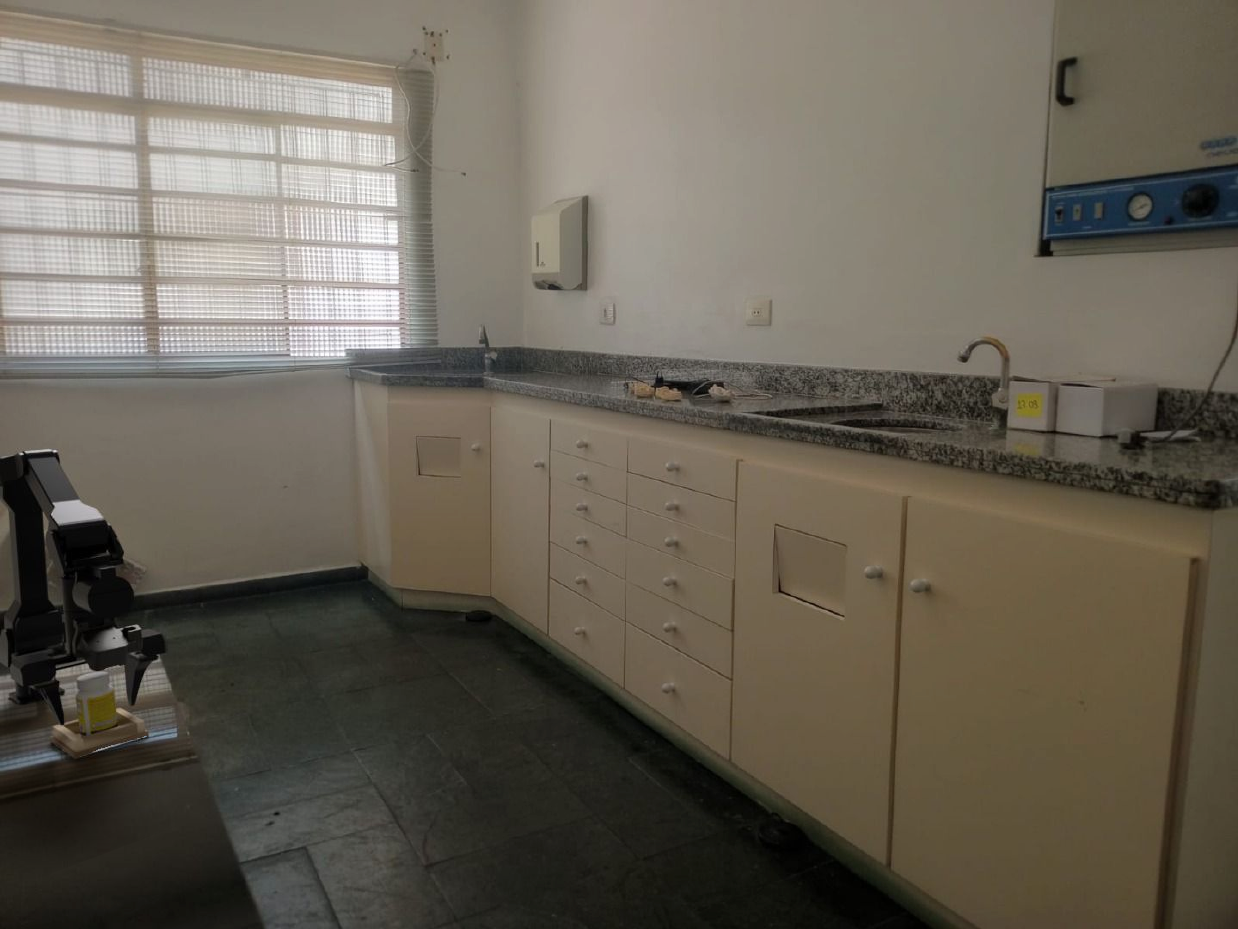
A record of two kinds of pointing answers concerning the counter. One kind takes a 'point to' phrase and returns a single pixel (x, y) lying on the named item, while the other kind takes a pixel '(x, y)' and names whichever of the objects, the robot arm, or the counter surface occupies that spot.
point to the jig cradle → (97, 735)
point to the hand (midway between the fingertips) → (97, 715)
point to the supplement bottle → (95, 703)
